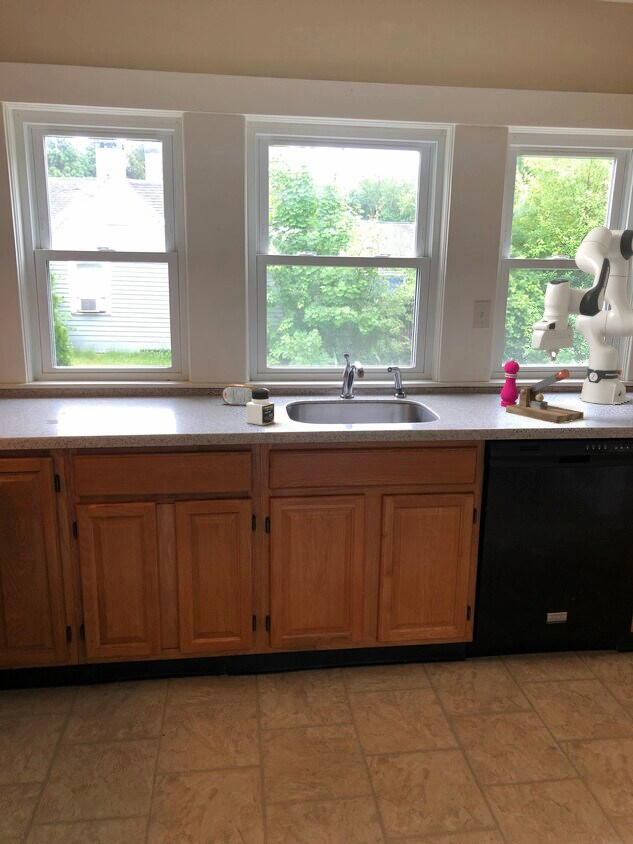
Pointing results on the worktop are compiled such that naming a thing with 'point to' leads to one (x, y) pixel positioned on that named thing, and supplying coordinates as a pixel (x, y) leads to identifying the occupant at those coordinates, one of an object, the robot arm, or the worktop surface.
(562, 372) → the lever
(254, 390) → the medicine bottle
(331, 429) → the worktop surface
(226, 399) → the tin
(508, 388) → the pepper mill
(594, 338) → the robot arm
